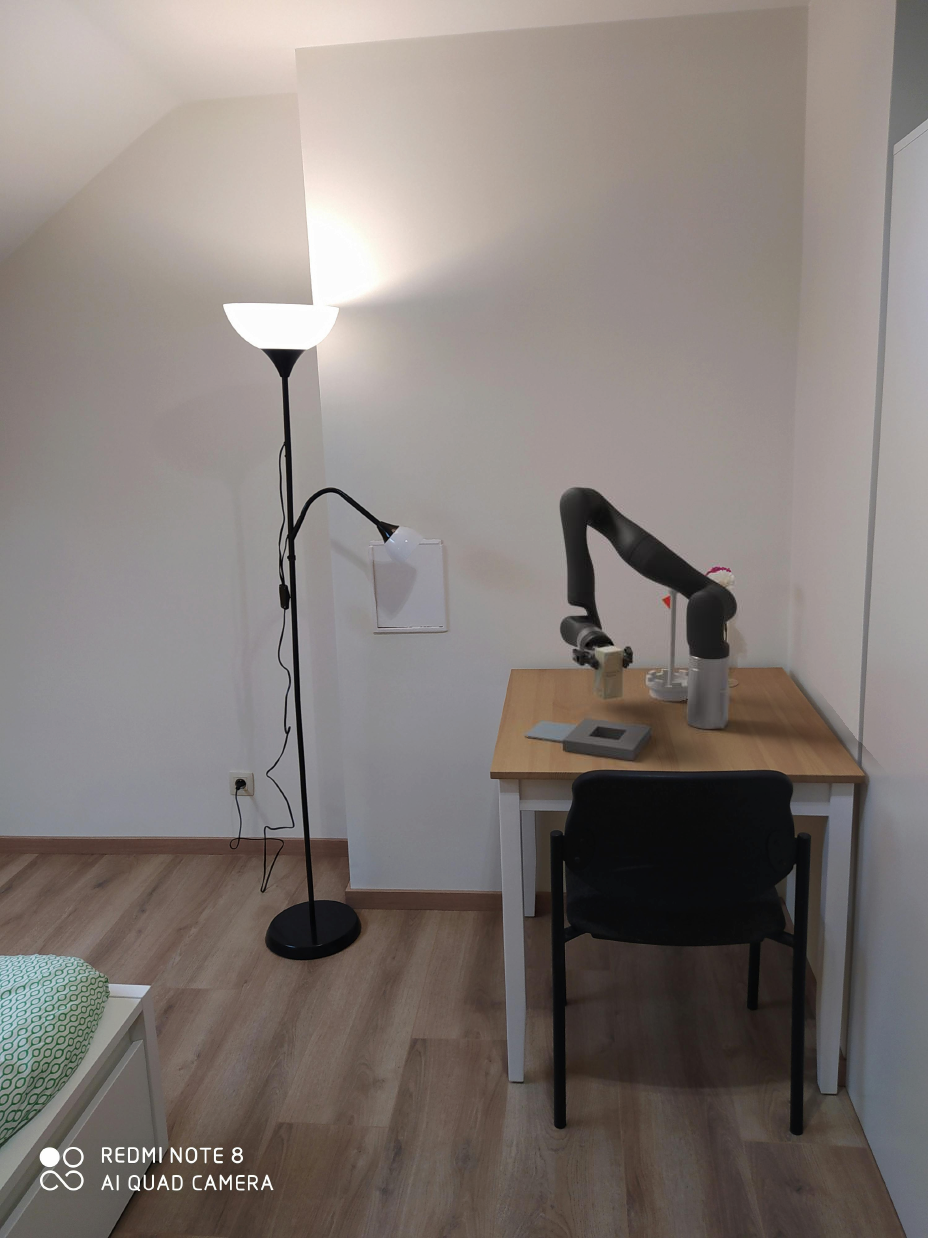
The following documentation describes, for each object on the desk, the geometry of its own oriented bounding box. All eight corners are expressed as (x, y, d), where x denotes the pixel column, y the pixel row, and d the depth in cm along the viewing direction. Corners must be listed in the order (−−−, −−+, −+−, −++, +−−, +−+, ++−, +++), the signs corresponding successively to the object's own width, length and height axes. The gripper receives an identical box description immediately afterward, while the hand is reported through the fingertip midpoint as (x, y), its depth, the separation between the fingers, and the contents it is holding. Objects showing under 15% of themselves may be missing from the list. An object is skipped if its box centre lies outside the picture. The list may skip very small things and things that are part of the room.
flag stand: (706, 698, 239) (710, 585, 232) (664, 705, 234) (667, 590, 227) (676, 685, 251) (680, 577, 244) (636, 691, 246) (638, 582, 239)
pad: (580, 728, 219) (580, 726, 219) (565, 743, 209) (565, 741, 209) (541, 722, 223) (541, 720, 223) (524, 737, 213) (524, 735, 213)
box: (603, 700, 203) (603, 652, 200) (593, 695, 207) (593, 648, 204) (623, 696, 205) (624, 649, 202) (613, 691, 209) (613, 644, 206)
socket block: (650, 736, 212) (651, 726, 211) (632, 760, 198) (632, 749, 197) (585, 727, 219) (585, 718, 218) (562, 750, 205) (562, 740, 204)
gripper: (565, 631, 217) (579, 650, 200) (624, 628, 218) (643, 647, 201) (565, 662, 218) (579, 682, 202) (624, 659, 219) (643, 679, 203)
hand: (611, 664), depth 202 cm, fingers closed on box, 6 cm apart
